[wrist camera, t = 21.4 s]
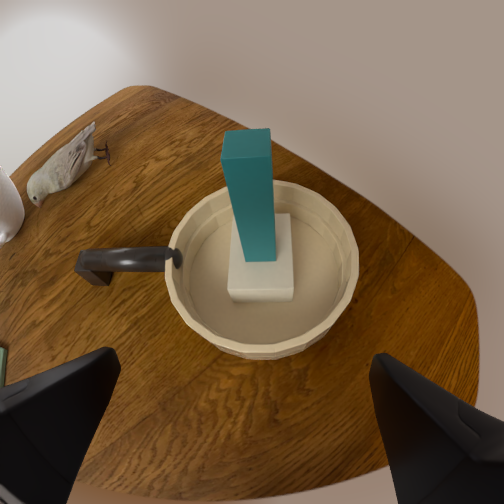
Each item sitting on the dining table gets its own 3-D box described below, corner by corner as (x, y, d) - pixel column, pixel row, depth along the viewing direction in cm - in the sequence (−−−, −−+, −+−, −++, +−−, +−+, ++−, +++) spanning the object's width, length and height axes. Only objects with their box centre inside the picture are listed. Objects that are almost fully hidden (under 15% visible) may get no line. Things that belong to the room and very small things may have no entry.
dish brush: (292, 302, 22) (303, 191, 11) (233, 302, 23) (185, 196, 11) (289, 232, 26) (290, 107, 14) (237, 233, 26) (207, 112, 15)
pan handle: (192, 288, 25) (175, 265, 21) (92, 285, 26) (67, 265, 22) (195, 265, 26) (180, 239, 22) (97, 265, 27) (74, 244, 23)
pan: (354, 356, 20) (371, 346, 16) (173, 355, 22) (151, 346, 18) (336, 208, 28) (342, 178, 24) (193, 213, 29) (181, 185, 25)
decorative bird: (40, 199, 35) (17, 171, 29) (113, 149, 38) (95, 115, 32) (38, 219, 33) (12, 190, 26) (117, 165, 36) (97, 127, 29)
